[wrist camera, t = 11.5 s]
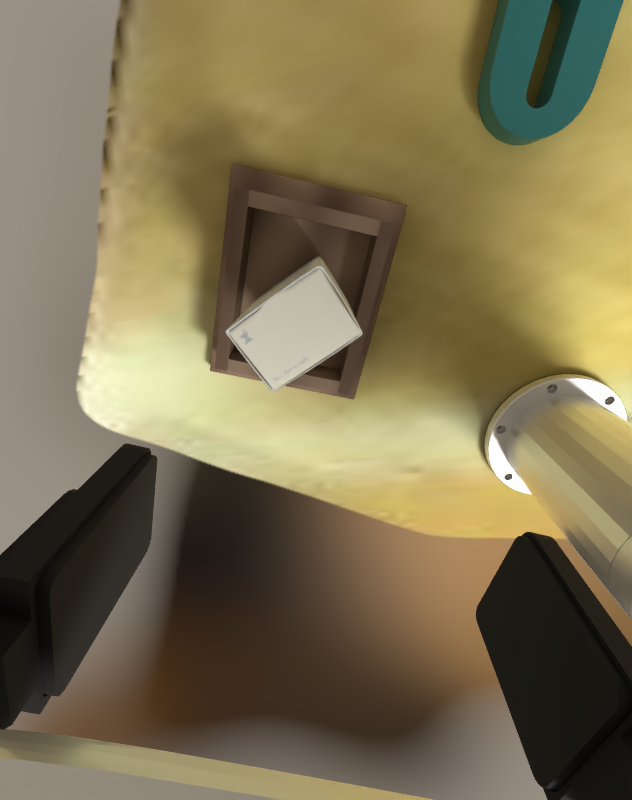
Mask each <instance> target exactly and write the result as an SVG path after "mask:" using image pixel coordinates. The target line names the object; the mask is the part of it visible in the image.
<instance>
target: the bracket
mask: <svg viewBox="0 0 632 800" xmlns="http://www.w3.org/2000/svg"><path fill="white" fill-rule="evenodd" d="M555 1H557V2H558V3H559V5H560V7H561V10H562V16H561V20H560V24H559V27H558V31H557V34H556V37H555V41H554V44H553V48H552V51H551V54H550V58H549V61H548V65H547V68H546V71H545V75H544V78H543V82H542V85H541V88H540V92H539V95H538V99H537V102H536V105H535V107H534V108H532V107H531V106H529V104H528V103H527V100H526V92H527V88H528V85H529V81H530V78H531V74H532V71H533V67H534V63H535V60H536V56H537V53H538V49H539V46H540V42H541V39H542V35H543V32H544V28H545V25H546V21H547V17H548V14H549V10H550V7H551V3H552V0H499V3H498V7H497V11H496V15H495V19H494V23H493V28H492V32H491V36H490V40H489V44H488V48H487V53H486V57H485V61H484V65H483V69H482V73H481V77H480V82H479V88H478V106H479V112H480V115H481V118H482V121H483V123H484V125H485V127H486V128H487V130H488V131H489V132H490V133H491V134H492V135H493V136H494V137H495V138H496V139H498V140H500V141H502V142H504V143H507V144H511V145H525V144H529V143H532V142H535V141H538V140H540V139H543V138H545V137H548V136H550V135H552V134H554V133H557V132H558V131H560V130H562V129H563V128H564V127H566V126H567V125H568V124H569V123H570V122H572V121H573V120H574V118H575V117H576V116H577V115H578V114H579V113H580V112H581V110H582V109H583V107H584V106H585V104H586V103H587V101H588V99H589V97H590V95H591V93H592V91H593V88H594V86H595V83H596V80H597V77H598V74H599V71H600V68H601V65H602V62H603V59H604V56H605V53H606V51H607V48H608V45H609V42H610V39H611V36H612V33H613V30H614V27H615V24H616V21H617V18H618V15H619V12H620V9H621V6H622V3H623V0H555Z"/></svg>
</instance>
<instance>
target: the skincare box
mask: <svg viewBox="0 0 632 800" xmlns="http://www.w3.org/2000/svg"><path fill="white" fill-rule="evenodd" d="M226 334H227V335H228V336H229V337H230V339H231V340H232V342H233V343H234V344H235V346H236V347H237V348H238V350H239V351H240V353H241V354H242V355H243V357H244V358H245V359H246V360H247V361H248V363H249V364H250V365H251V367H252V368H253V369H254V371H255V372H256V373H257V374H258V376H259V377H260V378H261V379H262V380H263V382H264V383H265V384H266V385H267V386H268V388H269V389H270V390H271V391H275V390H277V389H279V388H281V387H283V386H284V385H286V384H288V383H290V382H291V381H293V380H294V379H296V378H298V377H299V376H301V375H302V374H304V373H306V372H307V371H309V370H310V369H312V368H314V367H315V366H317V365H318V364H320V363H321V362H323V361H324V360H326V359H327V358H329V357H330V356H332V355H333V354H335V353H337V352H338V351H339V350H341V349H342V348H344V347H345V346H347V345H348V344H350V343H351V342H353V341H354V340H356V339H357V338H358V337H360V336H361V335H362V330H361V328H360V326H359V324H358V322H357V320H356V318H355V316H354V314H353V312H352V309H351V307H350V305H349V303H348V300H347V298H346V297H345V295H344V293H343V292H342V290H341V288H340V287H339V285H338V283H337V282H336V280H335V278H334V277H333V275H332V273H331V272H330V270H329V268H328V267H327V265H326V264H325V262H324V261H323V259H322V257H320V256H317V257H315V258H314V259H312V260H311V261H309V262H308V263H306V264H305V265H303V266H302V267H300V268H299V269H297V270H296V271H295V272H293V273H292V274H290V275H289V276H287V277H286V278H285V279H283V280H282V281H280V282H279V283H277V284H276V285H275V286H273V287H272V288H270V289H269V290H268V291H266V292H265V293H264V294H262V295H261V296H260V297H258V298H257V300H256V301H255V302H254V303H253V304H252V305H251V306H250V307H249V308H248V309H247V310H246V311H245V312H244V313H243V314H242V315H241V316H240V317H239V318H238V319H237V320H236V321H235V322H234V323H233V324H232V325H231V326H230V327H229V328H228V329H227V330H226Z"/></svg>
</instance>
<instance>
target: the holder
mask: <svg viewBox="0 0 632 800" xmlns="http://www.w3.org/2000/svg"><path fill="white" fill-rule="evenodd" d="M406 208H407V205H403V204H398V203H394V202H390V201H386V200H382V199H378V198H373V197H369V196H365V195H361V194H357V193H353V192H348V191H344V190H340V189H336V188H332V187H327V186H323V185H319V184H315V183H311V182H307V181H302V180H298V179H294V178H290V177H286V176H282V175H277V174H273V173H269V172H265V171H261V170H256V169H252V168H248V167H244V166H240V165H236V164H232V168H231V177H230V186H229V196H228V205H227V215H226V224H225V234H224V243H223V253H222V262H221V272H220V281H219V290H218V300H217V309H216V319H215V328H214V338H213V347H212V357H211V366H210V371H214V372H219V373H224V374H229V375H234V376H239V377H244V378H249V379H254V380H259V381H263V380H262V379H261V378H260V377H259V376H258V374H257V373H256V372H255V371H254V369H253V368H252V367H251V365H250V364H249V363H248V361H247V360H246V359H245V358H244V357H243V355H242V354H241V353H240V351H239V350H238V348H237V347H236V346H235V344H234V343H233V342H232V340H231V339H230V337H229V336H228V335H227V334H226V330H227V329H228V328H229V327H230V326H231V325H232V324H233V323H234V322H235V321H236V320H237V319H238V318H239V317H240V316H241V315H242V314H243V313H244V312H245V311H246V310H247V309H248V308H249V307H250V306H251V305H252V304H253V303H254V302H255V301H256V300H257V298H258V297H260V296H261V295H262V294H264V293H265V292H266V291H268V290H269V289H270V288H272V287H273V286H275V285H276V284H277V283H279V282H280V281H282V280H283V279H285V278H286V277H287V276H289V275H290V274H292V273H293V272H295V271H296V270H297V269H299V268H300V267H302V266H303V265H305V264H306V263H308V262H309V261H311V260H312V259H314V258H315V257H317V256H320V257H322V259H323V261H324V262H325V264H326V265H327V267H328V268H329V270H330V272H331V273H332V275H333V277H334V278H335V280H336V282H337V283H338V285H339V287H340V288H341V290H342V292H343V293H344V295H345V297H346V298H347V300H348V303H349V305H350V307H351V309H352V312H353V314H354V316H355V318H356V320H357V322H358V324H359V326H360V328H361V330H362V335H361V336H360V337H358V338H357V339H356V340H354V341H353V342H351V343H350V344H348V345H347V346H345V347H344V348H342V349H341V350H339V351H338V352H337V353H335V354H333V355H332V356H330V357H329V358H327V359H326V360H324V361H323V362H321V363H320V364H318V365H317V366H315V367H314V368H312V369H310V370H309V371H307V372H306V373H304V374H302V375H301V376H299V377H298V378H296V379H294V380H293V381H291V382H290V383H288V384H286V385H284V386H289V387H294V388H299V389H304V390H309V391H314V392H319V393H324V394H329V395H334V396H339V397H344V398H349V399H354V397H355V394H356V390H357V386H358V383H359V379H360V375H361V372H362V368H363V364H364V361H365V357H366V354H367V350H368V346H369V343H370V339H371V335H372V332H373V328H374V324H375V321H376V317H377V313H378V310H379V306H380V302H381V299H382V295H383V292H384V288H385V284H386V281H387V277H388V273H389V270H390V266H391V262H392V259H393V255H394V251H395V248H396V244H397V241H398V237H399V233H400V230H401V226H402V222H403V219H404V215H405V211H406Z"/></svg>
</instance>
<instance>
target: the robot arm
mask: <svg viewBox="0 0 632 800" xmlns="http://www.w3.org/2000/svg"><path fill="white" fill-rule="evenodd" d="M484 449H485V454H486V459H487V461H488V463H489V466H490V468H491V469H492V470H493V472H494V473H495V475H496V476H497V477H498V478H499V479H500V480H501V481H502V482H503V483H504V484H506V485H507V486H509V487H510V488H512V489H515V490H517V491H520V492H523V493H528V494H532V495H533V496H534V498H535V499H536V500H537V501H538V503H539V504H540V505H541V507H542V508H543V509H544V510H545V512H546V513H547V514H548V515H549V517H550V518H551V519H552V520H553V522H554V523H555V524H556V525H557V527H558V528H559V529H560V531H561V532H562V533H563V534H564V536H565V537H566V538H567V539H568V541H569V542H570V543H571V544H572V546H573V547H574V548H575V549H576V551H577V552H578V553H579V555H580V556H581V557H582V558H583V560H584V561H585V562H586V563H587V565H588V566H589V567H590V568H591V569H592V571H593V572H594V573H595V575H596V576H597V577H598V578H599V580H600V581H601V582H602V584H603V585H604V586H605V587H606V589H607V590H608V591H609V592H610V594H611V595H612V596H613V598H614V599H615V600H616V601H617V602H618V603H619V605H620V606H621V607H622V608H623V610H624V611H625V612H626V613H627V615H628V616H629V617H630V618H631V619H632V424H631V423H630V422H628V421H627V414H626V410H625V407H624V404H623V403H622V401H621V399H620V397H619V396H618V395H617V394H616V393H615V392H614V391H613V390H612V389H611V388H609V387H608V386H606V385H605V384H603V383H601V382H599V381H597V380H595V379H593V378H591V377H587V376H583V375H578V374H560V375H554V376H548V377H545V378H542V379H539V380H536V381H534V382H532V383H530V384H528V385H526V386H524V387H522V388H521V389H519V390H518V391H516V392H515V393H514V394H512V395H511V396H510V397H509V398H508V399H507V400H506V401H505V402H504V403H503V404H502V405H501V406H500V407H499V409H498V410H497V411H496V413H495V414H494V415H493V417H492V419H491V421H490V423H489V425H488V428H487V432H486V435H485V446H484ZM156 468H157V457H156V456H154V455H151V451H150V449H149V448H145V447H141V446H136V445H131V444H124V445H123V446H122V447H121V448H119V450H117V452H115V453H114V455H112V456H111V458H109V459H108V460H107V461H106V462H105V463H104V465H102V466H101V468H99V469H98V470H97V471H96V472H95V473H94V474H93V475H92V476H91V477H90V478H89V479H88V480H87V481H86V482H85V483H84V484H83V485H82V486H81V487H80V488H79V489H78V490H75V489H73V490H70V491H68V492H67V493H65V494H64V495H63V496H62V497H61V498H60V499H59V500H57V501H56V502H55V503H54V504H53V505H52V506H51V507H50V509H48V510H47V511H46V512H45V513H44V514H43V515H42V516H41V517H40V518H39V519H38V520H37V521H36V522H35V523H33V524H32V525H31V526H30V527H29V528H28V529H27V530H26V531H25V532H24V533H23V534H22V535H21V536H20V537H19V538H18V539H17V540H16V541H15V542H13V543H12V544H11V545H10V546H9V548H7V549H6V550H5V551H4V552H3V553H2V554H1V555H0V800H433V799H428V798H422V797H417V796H411V795H406V794H400V793H395V792H390V791H384V790H378V789H373V788H368V787H362V786H357V785H351V784H346V783H340V782H335V781H329V780H324V779H318V778H313V777H307V776H302V775H296V774H291V773H285V772H279V771H273V770H268V769H263V768H257V767H251V766H245V765H240V764H234V763H229V762H223V761H217V760H211V759H206V758H200V757H194V756H189V755H183V754H178V753H172V752H166V751H160V750H154V749H149V748H142V747H136V746H129V745H123V744H117V743H110V742H104V741H97V740H91V739H85V738H78V737H72V736H64V735H59V734H49V733H39V732H28V731H17V730H8V729H5V728H7V727H9V726H11V725H12V724H13V722H14V721H15V719H16V718H17V716H18V715H19V713H20V712H21V711H24V712H29V713H35V714H40V713H41V712H42V710H43V709H44V707H45V705H46V704H47V702H48V700H49V699H50V697H51V696H59V695H60V694H61V693H62V692H63V691H64V690H65V688H66V687H67V685H68V683H69V682H70V680H71V678H72V677H73V675H74V673H75V672H76V670H77V668H78V667H79V665H80V663H81V662H82V660H83V658H84V657H85V655H86V653H87V652H88V650H89V648H90V647H91V645H92V643H93V641H94V640H95V638H96V636H97V635H98V633H99V631H100V630H101V628H102V626H103V625H104V623H105V621H106V620H107V618H108V616H109V615H110V613H111V611H112V610H113V608H114V606H115V604H116V603H117V601H118V599H119V598H120V596H121V594H122V593H123V591H124V589H125V588H126V586H127V584H128V583H129V581H130V579H131V578H132V576H133V574H134V572H135V570H136V569H137V567H138V566H139V564H140V562H141V561H142V559H143V557H144V556H145V554H146V552H147V550H148V548H149V545H150V540H151V532H152V520H153V519H152V518H153V506H154V495H155V482H156ZM476 619H477V623H478V626H479V629H480V631H481V634H482V637H483V640H484V642H485V645H486V648H487V650H488V653H489V656H490V659H491V661H492V664H493V667H494V670H495V672H496V675H497V678H498V680H499V683H500V686H501V689H502V691H503V694H504V697H505V699H506V702H507V705H508V708H509V710H510V713H511V716H512V719H513V721H514V724H515V727H516V729H517V732H518V735H519V737H520V740H521V743H522V746H523V748H524V751H525V754H526V757H527V759H528V762H529V765H530V768H531V770H532V773H533V775H534V777H535V780H536V781H537V783H538V784H539V785H540V786H541V787H543V789H544V792H545V794H546V797H547V799H548V800H632V646H631V645H630V644H629V642H628V641H627V639H626V638H625V637H624V635H623V634H622V633H621V631H620V630H619V628H618V627H617V626H616V624H615V623H614V622H613V620H612V619H611V617H610V616H609V615H608V613H607V612H606V610H605V609H604V608H603V606H602V605H601V603H600V602H599V601H598V599H597V598H596V597H595V595H594V594H593V593H592V591H591V590H590V588H589V587H588V586H587V584H586V583H585V581H584V580H583V579H582V577H581V576H580V574H579V573H578V572H577V570H576V569H575V567H574V566H573V565H572V563H571V562H570V560H569V559H568V558H567V556H566V555H565V554H564V552H563V551H562V549H561V548H560V547H559V545H558V544H557V542H556V541H555V540H554V539H553V538H552V537H549V536H545V535H541V534H536V533H532V532H526V533H524V534H523V535H522V536H518V537H517V538H516V539H515V541H514V542H513V544H512V546H511V548H510V550H509V551H508V553H507V555H506V557H505V558H504V560H503V562H502V564H501V565H500V567H499V569H498V571H497V573H496V575H495V576H494V578H493V580H492V581H491V583H490V585H489V587H488V588H487V590H486V592H485V594H484V596H483V597H482V599H481V601H480V603H479V604H478V607H477V610H476Z"/></svg>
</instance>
